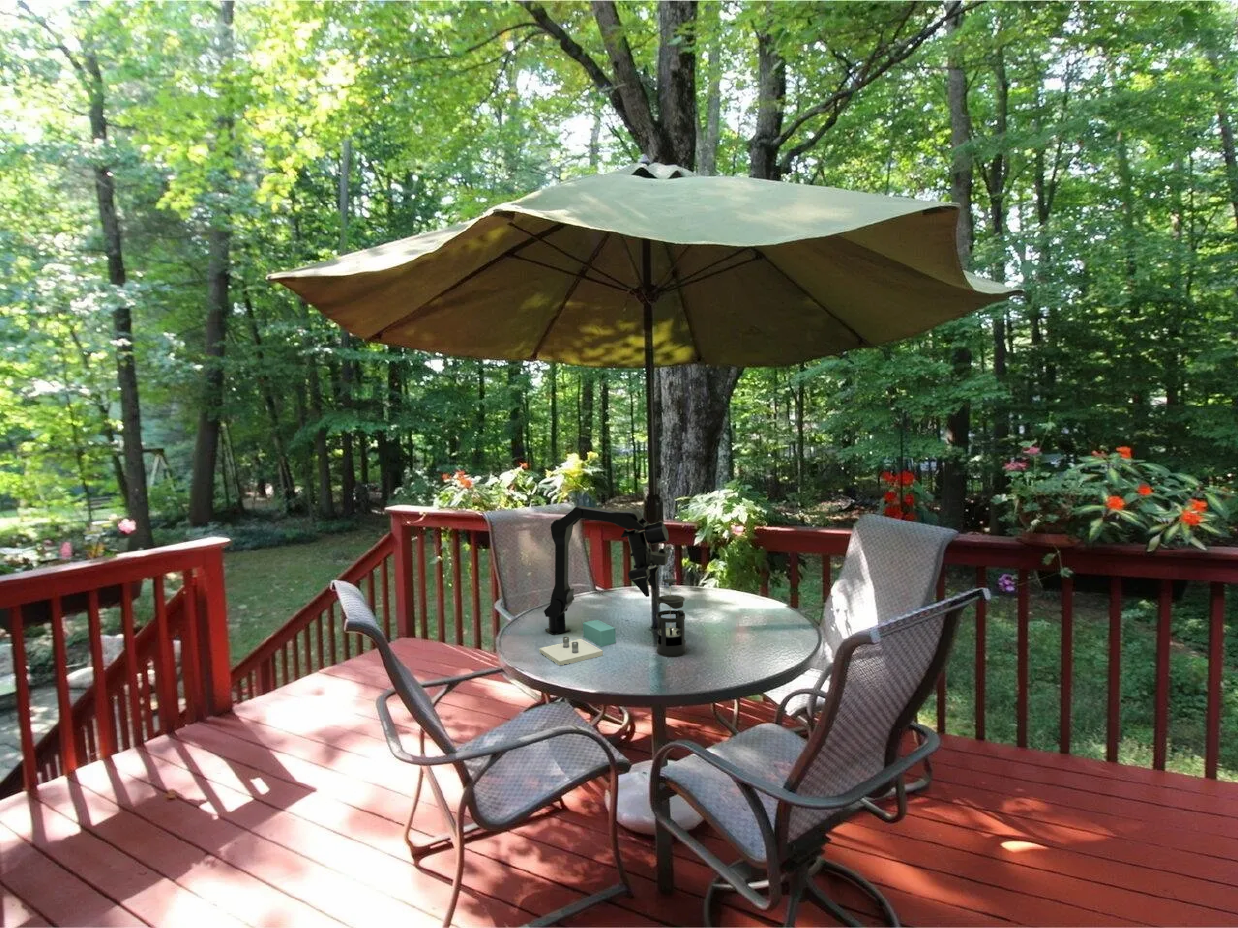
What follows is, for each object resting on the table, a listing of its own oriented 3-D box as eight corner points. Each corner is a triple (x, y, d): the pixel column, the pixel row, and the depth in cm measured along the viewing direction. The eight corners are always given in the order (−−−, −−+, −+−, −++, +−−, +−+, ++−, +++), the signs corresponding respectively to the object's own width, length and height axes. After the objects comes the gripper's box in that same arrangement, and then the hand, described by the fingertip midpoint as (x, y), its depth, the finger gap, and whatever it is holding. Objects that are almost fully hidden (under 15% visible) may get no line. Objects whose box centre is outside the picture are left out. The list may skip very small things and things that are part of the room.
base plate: (539, 652, 210) (539, 648, 210) (580, 643, 218) (580, 638, 218) (559, 666, 198) (559, 661, 198) (602, 655, 206) (602, 650, 206)
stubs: (561, 646, 211) (561, 637, 211) (567, 645, 212) (567, 636, 212) (574, 653, 204) (573, 644, 204) (579, 652, 205) (579, 642, 205)
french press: (675, 659, 201) (673, 585, 199) (649, 653, 206) (647, 581, 205) (694, 648, 210) (693, 576, 209) (669, 643, 216) (668, 573, 214)
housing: (601, 646, 214) (600, 631, 214) (583, 637, 224) (583, 622, 224) (615, 642, 217) (615, 628, 217) (597, 633, 227) (597, 619, 227)
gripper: (654, 547, 209) (667, 595, 209) (668, 537, 226) (680, 581, 226) (622, 555, 212) (635, 602, 212) (638, 544, 230) (650, 587, 230)
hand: (651, 592), depth 220 cm, fingers open, 9 cm apart
